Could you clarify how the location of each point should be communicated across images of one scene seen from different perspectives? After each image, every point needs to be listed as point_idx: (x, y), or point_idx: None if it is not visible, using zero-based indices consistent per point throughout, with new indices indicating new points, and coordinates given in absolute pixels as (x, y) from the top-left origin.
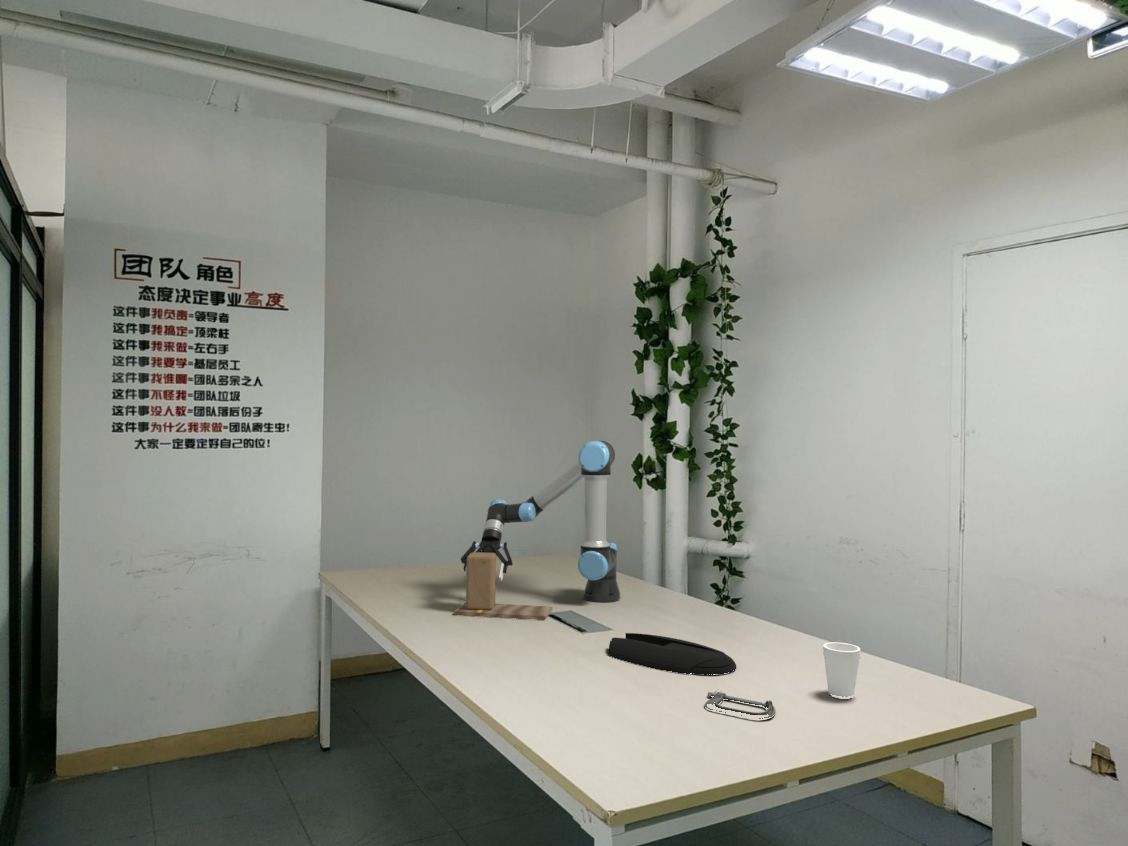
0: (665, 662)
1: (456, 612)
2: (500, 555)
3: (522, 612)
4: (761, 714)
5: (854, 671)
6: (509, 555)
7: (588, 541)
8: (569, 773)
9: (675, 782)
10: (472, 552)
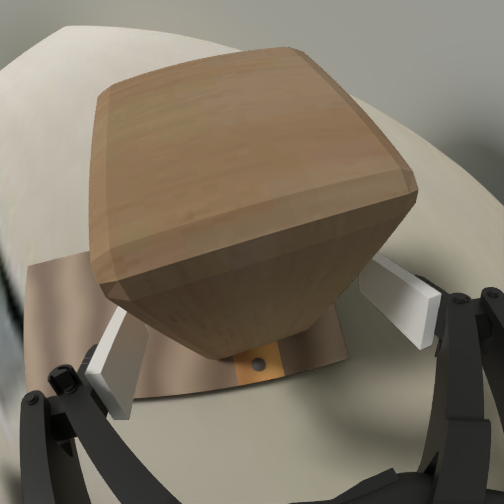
0: None
1: None
2: (108, 452)
3: (82, 285)
4: None
5: None
6: (23, 448)
7: None
8: (75, 26)
9: (38, 44)
10: (392, 157)
